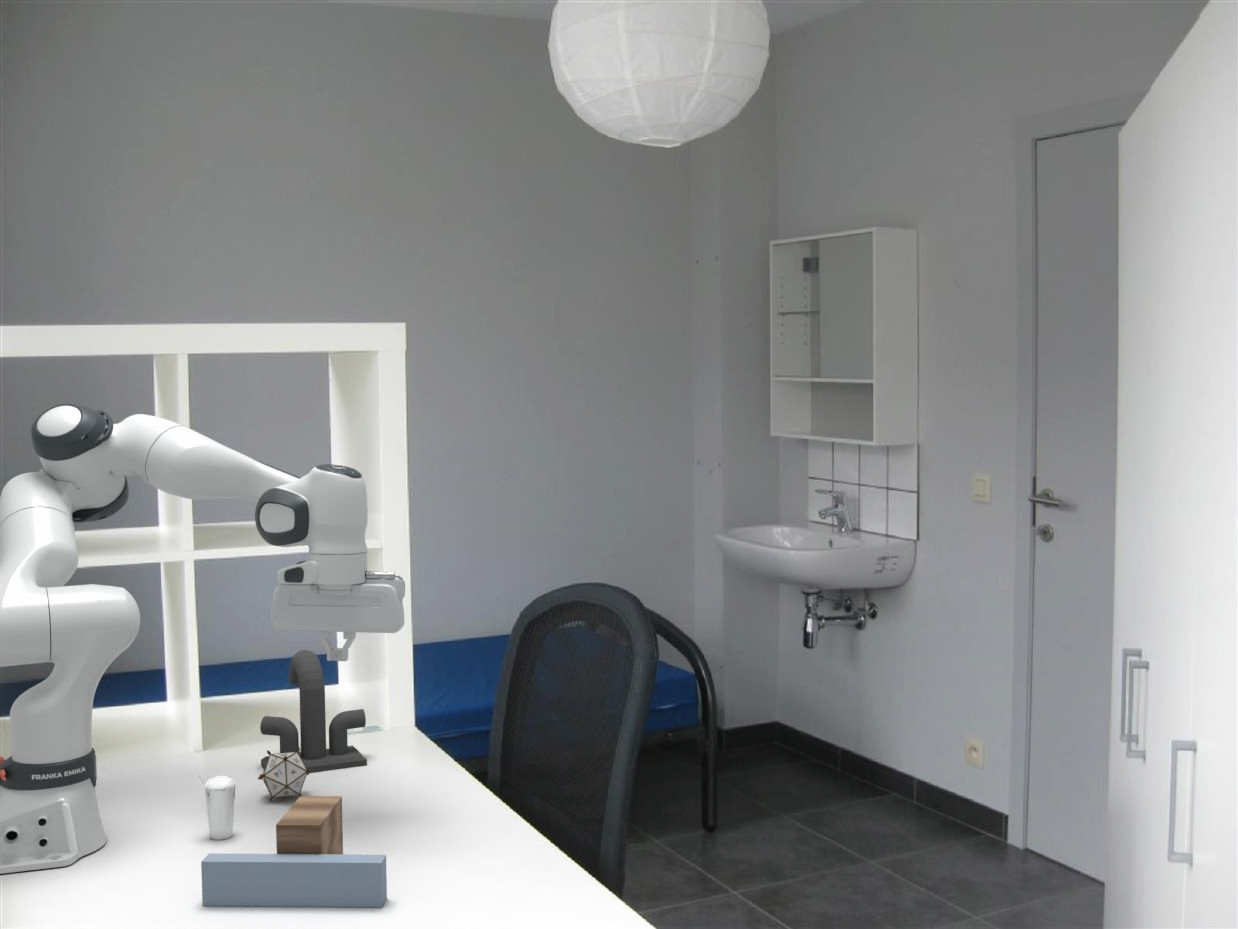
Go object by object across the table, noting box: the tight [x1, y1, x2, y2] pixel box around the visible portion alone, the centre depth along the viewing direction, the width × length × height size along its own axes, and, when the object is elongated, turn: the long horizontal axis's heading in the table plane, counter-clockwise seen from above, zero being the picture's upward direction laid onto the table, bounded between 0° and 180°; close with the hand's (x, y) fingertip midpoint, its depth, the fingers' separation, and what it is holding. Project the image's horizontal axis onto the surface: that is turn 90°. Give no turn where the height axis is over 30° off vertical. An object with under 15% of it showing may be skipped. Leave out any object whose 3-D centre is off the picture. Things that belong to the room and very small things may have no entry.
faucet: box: [259, 649, 368, 774], centre depth 243 cm, size 18×16×20 cm
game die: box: [257, 746, 312, 803], centre depth 222 cm, size 9×8×10 cm
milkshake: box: [198, 773, 236, 841], centre depth 204 cm, size 5×5×10 cm
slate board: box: [200, 852, 388, 908], centre depth 179 cm, size 24×3×6 cm, turn 88°
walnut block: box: [275, 795, 344, 854], centre depth 187 cm, size 12×6×10 cm, turn 178°
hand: (337, 660), depth 207 cm, fingers closed
